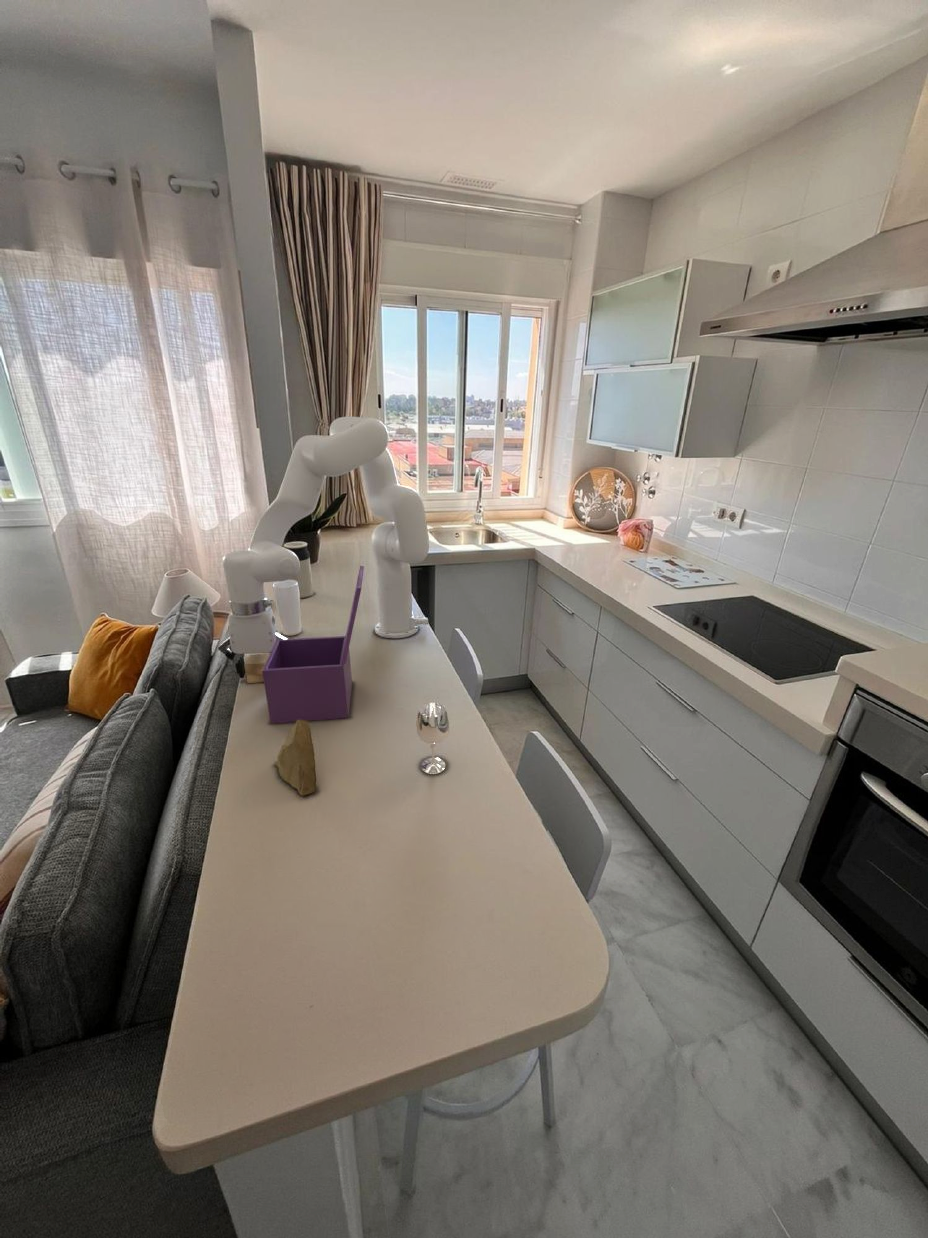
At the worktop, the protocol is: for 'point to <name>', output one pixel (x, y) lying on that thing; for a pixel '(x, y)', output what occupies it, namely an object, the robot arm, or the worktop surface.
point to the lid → (352, 614)
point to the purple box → (307, 680)
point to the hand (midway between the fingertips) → (260, 674)
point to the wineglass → (432, 733)
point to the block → (255, 667)
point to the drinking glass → (288, 606)
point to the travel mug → (302, 568)
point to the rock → (298, 759)
